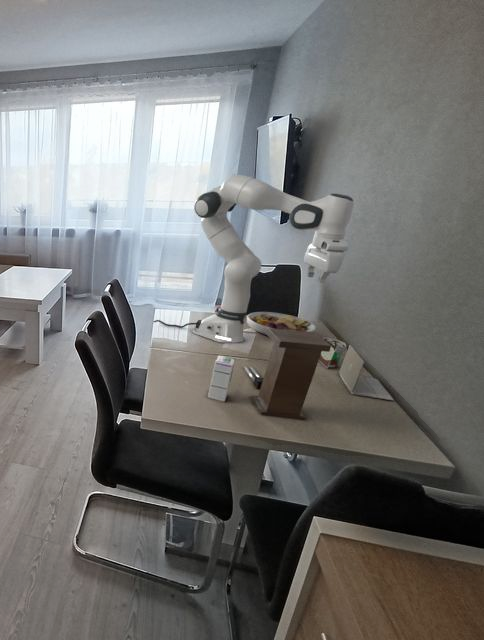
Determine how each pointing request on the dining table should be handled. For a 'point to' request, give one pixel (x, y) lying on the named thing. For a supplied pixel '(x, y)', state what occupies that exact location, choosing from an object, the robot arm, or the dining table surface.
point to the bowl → (277, 322)
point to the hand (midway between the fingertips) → (315, 279)
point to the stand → (289, 372)
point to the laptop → (360, 377)
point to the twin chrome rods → (257, 379)
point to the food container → (332, 353)
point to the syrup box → (221, 378)
